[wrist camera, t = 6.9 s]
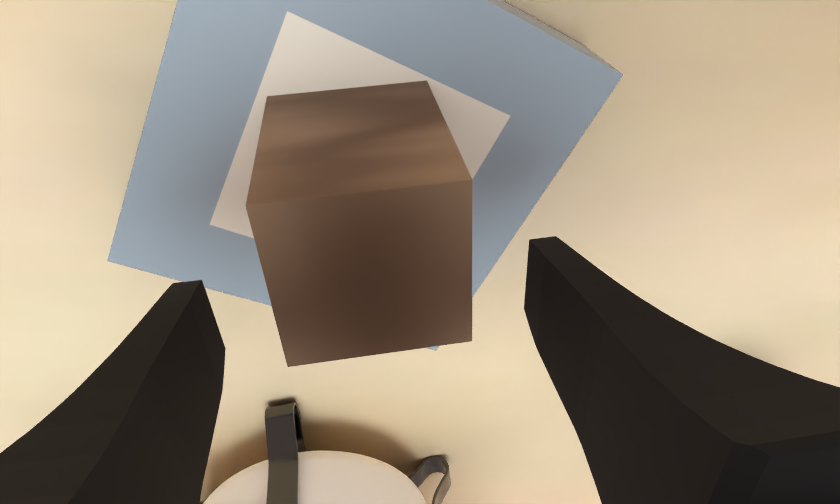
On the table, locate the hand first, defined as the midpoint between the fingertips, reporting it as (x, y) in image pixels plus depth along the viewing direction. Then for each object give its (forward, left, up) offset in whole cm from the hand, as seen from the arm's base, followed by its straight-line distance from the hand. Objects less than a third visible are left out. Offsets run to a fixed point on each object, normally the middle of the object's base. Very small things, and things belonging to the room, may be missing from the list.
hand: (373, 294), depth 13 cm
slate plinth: (0, 0, -9) cm, 9 cm away
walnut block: (0, 0, -6) cm, 6 cm away
